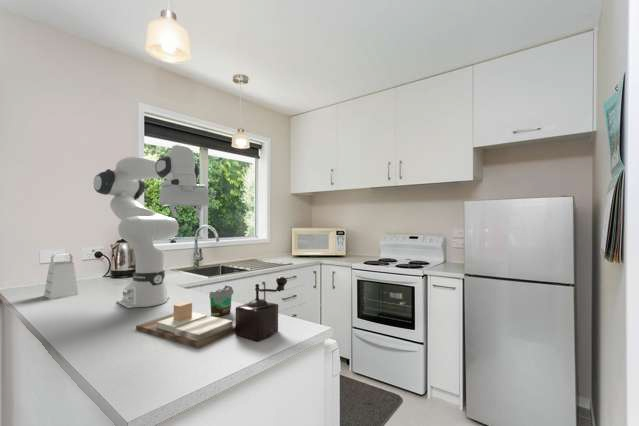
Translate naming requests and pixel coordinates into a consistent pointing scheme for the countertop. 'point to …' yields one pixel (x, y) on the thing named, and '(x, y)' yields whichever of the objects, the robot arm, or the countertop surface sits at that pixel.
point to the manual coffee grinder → (258, 316)
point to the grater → (61, 279)
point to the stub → (180, 317)
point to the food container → (221, 301)
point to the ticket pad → (178, 339)
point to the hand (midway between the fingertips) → (186, 216)
